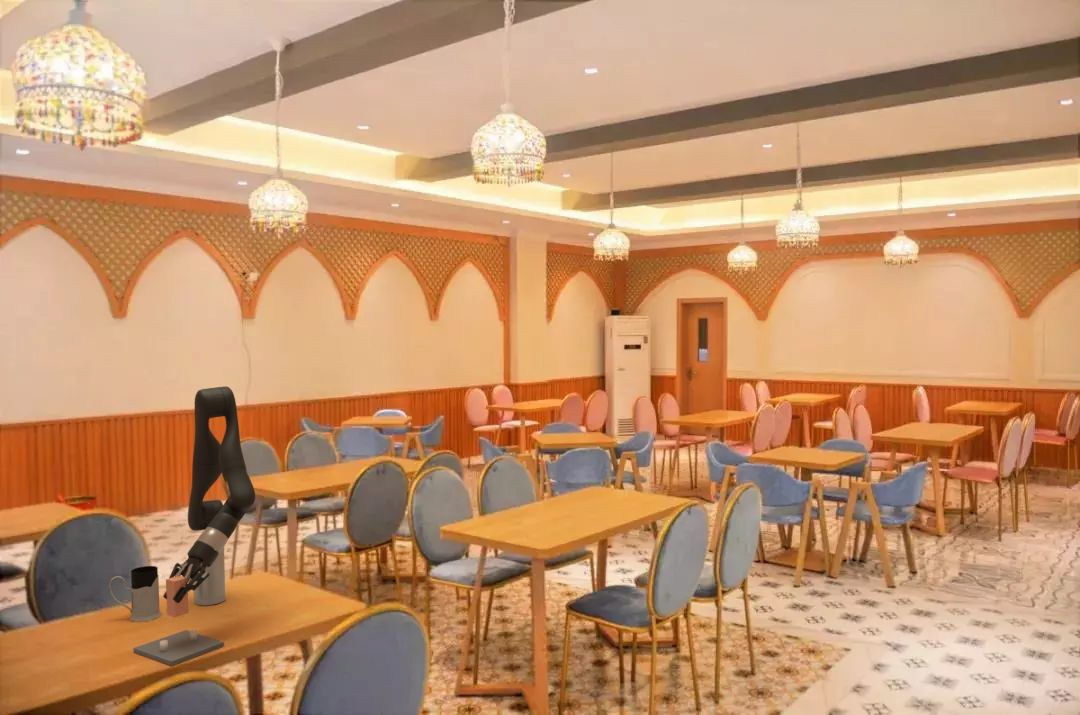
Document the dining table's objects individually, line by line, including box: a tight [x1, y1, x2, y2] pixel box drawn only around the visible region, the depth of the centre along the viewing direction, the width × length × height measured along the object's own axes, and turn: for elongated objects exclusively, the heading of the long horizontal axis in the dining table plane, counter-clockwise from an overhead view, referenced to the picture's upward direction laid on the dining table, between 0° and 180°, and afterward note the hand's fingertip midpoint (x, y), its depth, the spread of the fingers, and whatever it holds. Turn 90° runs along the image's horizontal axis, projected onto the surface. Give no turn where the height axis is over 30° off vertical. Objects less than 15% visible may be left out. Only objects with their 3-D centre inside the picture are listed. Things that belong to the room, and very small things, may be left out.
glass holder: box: [109, 565, 162, 623], centre depth 257 cm, size 9×14×15 cm, turn 112°
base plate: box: [132, 629, 225, 667], centre depth 231 cm, size 18×16×4 cm
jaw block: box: [165, 575, 190, 618], centre depth 230 cm, size 4×4×10 cm
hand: (170, 599), depth 229 cm, fingers closed on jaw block, 4 cm apart
